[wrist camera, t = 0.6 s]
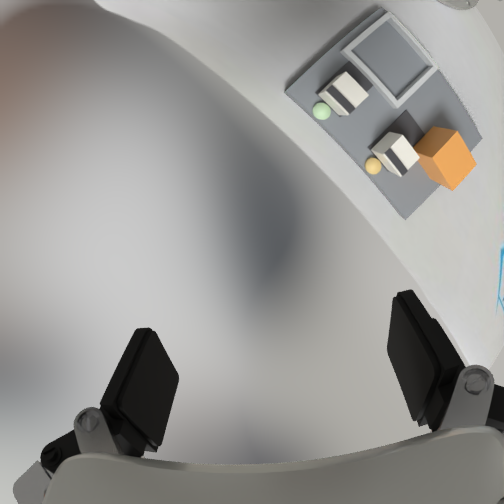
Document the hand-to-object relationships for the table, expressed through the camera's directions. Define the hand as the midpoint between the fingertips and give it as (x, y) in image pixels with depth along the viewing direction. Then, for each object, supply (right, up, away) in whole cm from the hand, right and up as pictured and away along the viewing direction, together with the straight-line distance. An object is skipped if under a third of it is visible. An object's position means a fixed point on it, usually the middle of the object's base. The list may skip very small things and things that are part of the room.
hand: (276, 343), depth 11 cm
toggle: (+8, +19, +15) cm, 26 cm away
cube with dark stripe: (+14, +14, +17) cm, 26 cm away
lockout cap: (+20, +15, +16) cm, 30 cm away
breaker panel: (+15, +19, +17) cm, 30 cm away
